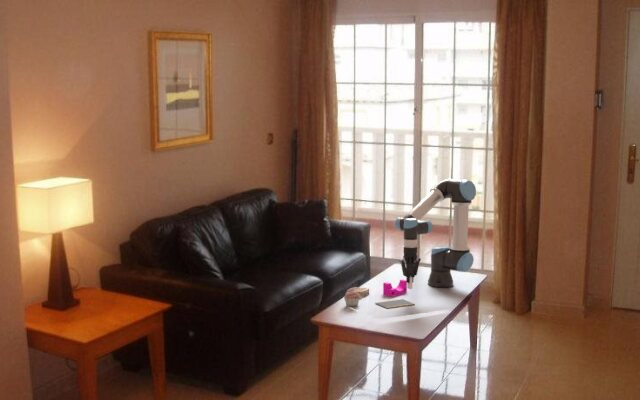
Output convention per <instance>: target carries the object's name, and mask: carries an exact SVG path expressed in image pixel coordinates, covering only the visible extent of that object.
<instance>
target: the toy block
mask: <svg viewBox="0 0 640 400" xmlns="http://www.w3.org/2000/svg"><path fill="white" fill-rule="evenodd" d="M382 286H383V287H382V289H383V291H382V292H383V293H382V294H383V295H385V296H387V297H391V298H392V297H395V296H401V295H404V294H405V293H407V291H408V290H407V289H408V288H407V282H406V279H403V278H402V279H399V282H398V285H397V286H396V287H393V286H392V283H391V282H387V281H386V282H383V285H382Z"/></svg>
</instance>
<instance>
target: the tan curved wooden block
mask: <svg viewBox="0 0 640 400" xmlns="http://www.w3.org/2000/svg"><path fill="white" fill-rule="evenodd" d="M352 288H353V289H355V290H356V291H357V292H358V293H359V296H360V299H362V298H364V297H366V296H368V295H370V288H367V287H360V286H358V287H357V286H354V287H352ZM348 290H349V289H347V290H346V292H348Z"/></svg>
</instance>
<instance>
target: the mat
mask: <svg viewBox="0 0 640 400" xmlns="http://www.w3.org/2000/svg"><path fill="white" fill-rule="evenodd" d="M374 303H375V305H377V306H379V307H382V308H383V309H387V310H388V309H389V310H390V309H396V308H402V307H408V306H415V303H414V302H411V301H408V300H406V299H404V298H400V299H393V300H386V301H378V302H374Z"/></svg>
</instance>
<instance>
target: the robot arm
mask: <svg viewBox="0 0 640 400" xmlns="http://www.w3.org/2000/svg"><path fill="white" fill-rule="evenodd" d="M475 185H476V184H475V183H474V182H473V181H471V180H468V179H461V178H460V179H458V178H446V179H443V180H441V181H439V182H438V183H437V184H435V185H434V186H432V188H431V189H430V190H429V192H428V194H427V195H426V196H425V197H423V198H422V199H421V200H420V201H419V202H418V203H417V204H416V205H415V206H414V207H413V208H412V209H411V210H410V211H408V213H407V214H406V215H404V217H402V216H401V217H398V218H396V220H394V221H395V222H394V227H395V229H396V230H397V231H401V232H403V256H402V258H401V259H399V262H400V265H401V270H402V275H403V276H404V277H405V278H406V279H405V280H406V282H407V289H409V290H412V289H413V283H414V278H415V277H416V276H417V274H418V271H419V270H418V269H419V267H420V266H419V265H420V262H421V260H422V259H421V257H418V236H419V235H425V234H430V233H432V231H433V227H434V225H433V223H432V221H431V220H429V219H423V220H422V218H424V216H426V215H427V214H428V213H429V212H430V211H431V210H432V209H433V208H434V207H435V206H436V205H438V203H439V202H443V201H444V200H445V199H451V201H450V202H451V204H452V205H453V216H452V217H453V219H452V221H453V222H452V223H453V225H452V245H451V246H436V247H432V249H431V251H430V258H431V259H430V274H429V276H428V280H427V285H429V286H430V287H435V288H448V287H452V286H454V280H453V277H452V273H451V271H456V272H461V273H462V272H463V273H465V272H468V271H469V270H471V268H472V267H473V264H474V258H475V257H474V255H473V254H472V253H471V252H470V251H471V250H470V248H469V246H468V233H469V211H470V210H469V207H470V205H471V204H472V201H473V200H474V199H475V197H476V196H477V195H476V194H477V188H476V186H475Z"/></svg>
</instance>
